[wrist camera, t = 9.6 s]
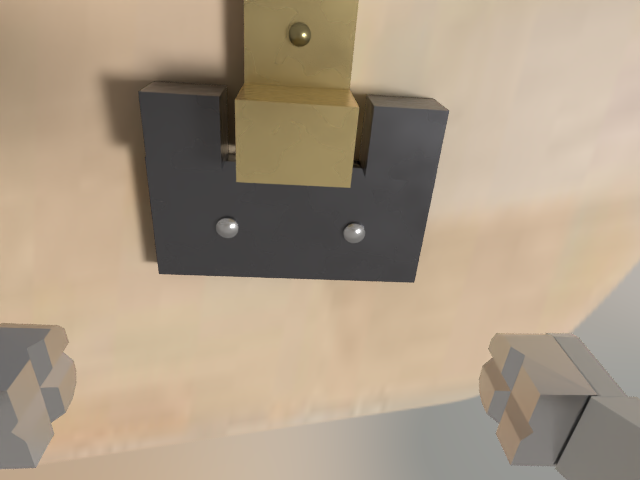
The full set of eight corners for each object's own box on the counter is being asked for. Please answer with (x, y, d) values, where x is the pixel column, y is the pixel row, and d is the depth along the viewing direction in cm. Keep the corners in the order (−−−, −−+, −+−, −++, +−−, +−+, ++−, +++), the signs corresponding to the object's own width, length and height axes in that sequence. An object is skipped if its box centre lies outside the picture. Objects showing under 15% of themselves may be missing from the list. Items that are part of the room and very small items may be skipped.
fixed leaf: (164, 263, 27) (152, 288, 25) (143, 80, 22) (126, 90, 20) (409, 271, 28) (419, 296, 26) (443, 99, 23) (459, 111, 21)
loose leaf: (247, 147, 24) (236, 182, 20) (246, -15, 20) (233, -16, 16) (340, 152, 24) (350, 187, 20) (355, -6, 21) (371, -5, 16)
